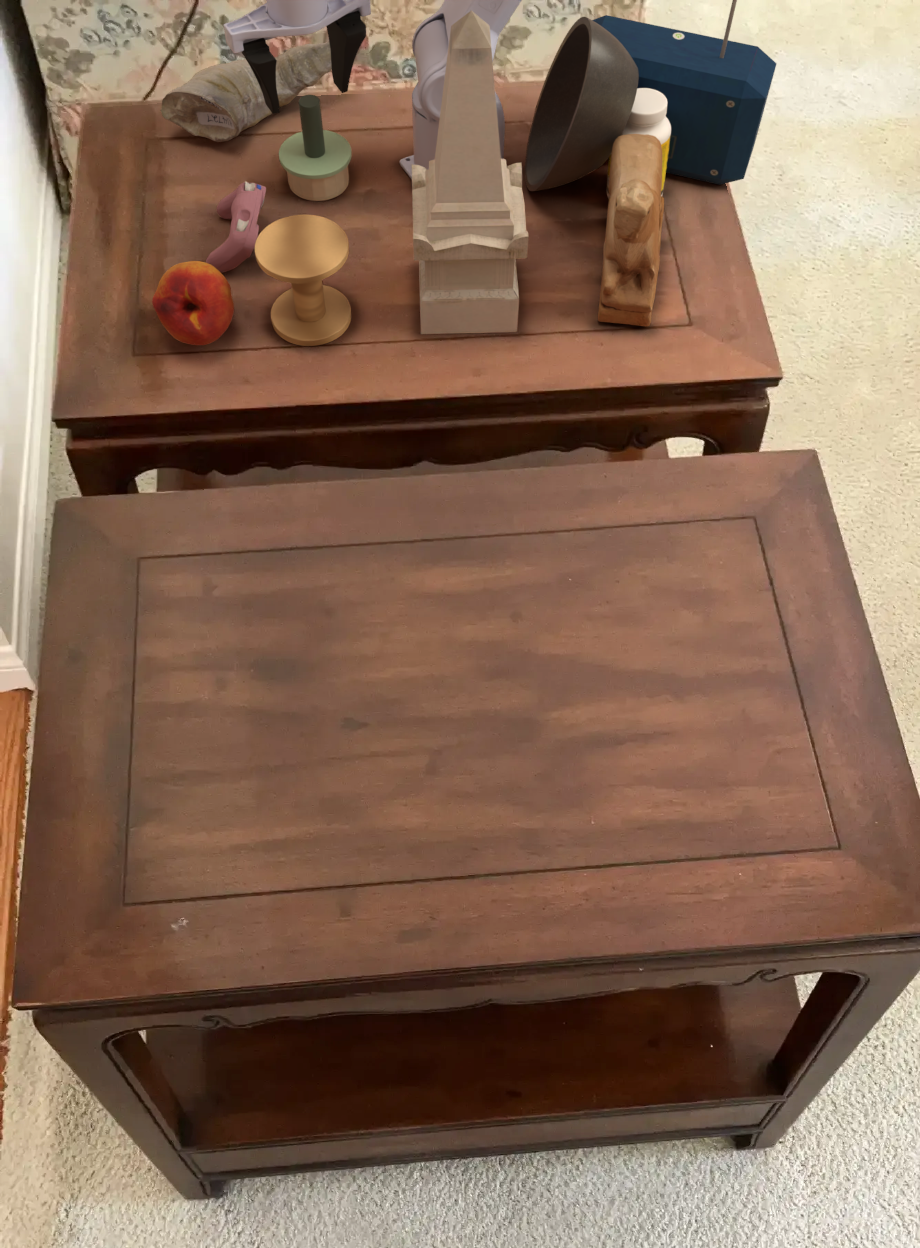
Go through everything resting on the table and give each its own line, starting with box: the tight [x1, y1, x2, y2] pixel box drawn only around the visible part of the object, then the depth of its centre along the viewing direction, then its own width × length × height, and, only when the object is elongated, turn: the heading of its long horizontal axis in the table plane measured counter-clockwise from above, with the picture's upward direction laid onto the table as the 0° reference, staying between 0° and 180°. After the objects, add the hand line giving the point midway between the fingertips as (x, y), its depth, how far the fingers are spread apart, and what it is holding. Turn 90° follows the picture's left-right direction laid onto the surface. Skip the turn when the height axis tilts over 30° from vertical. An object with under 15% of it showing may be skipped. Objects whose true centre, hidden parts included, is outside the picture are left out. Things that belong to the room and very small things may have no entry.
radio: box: [591, 0, 777, 186], centre depth 121 cm, size 21×9×20 cm, turn 72°
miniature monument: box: [411, 10, 530, 335], centre depth 104 cm, size 10×10×30 cm
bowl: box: [524, 16, 639, 192], centre depth 117 cm, size 12×22×6 cm
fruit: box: [151, 260, 235, 346], centre depth 111 cm, size 8×8×8 cm
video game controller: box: [205, 180, 267, 273], centre depth 118 cm, size 10×5×7 cm, turn 179°
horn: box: [160, 41, 332, 143], centre depth 128 cm, size 19×12×10 cm
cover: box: [278, 94, 353, 179], centre depth 121 cm, size 8×8×6 cm
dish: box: [286, 165, 350, 202], centre depth 125 cm, size 7×7×3 cm
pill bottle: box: [605, 88, 671, 199], centre depth 121 cm, size 6×6×11 cm
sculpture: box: [597, 134, 665, 327], centre depth 112 cm, size 6×17×15 cm, turn 172°
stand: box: [254, 214, 352, 347], centre depth 111 cm, size 9×9×9 cm
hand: (306, 97), depth 118 cm, fingers open, 7 cm apart
